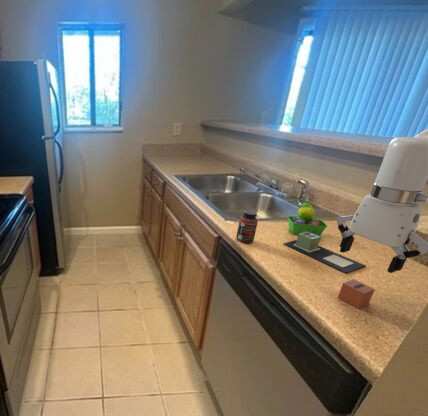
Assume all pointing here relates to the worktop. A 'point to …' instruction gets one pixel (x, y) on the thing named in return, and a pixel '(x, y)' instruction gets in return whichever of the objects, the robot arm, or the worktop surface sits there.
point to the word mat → (328, 258)
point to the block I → (356, 293)
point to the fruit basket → (306, 221)
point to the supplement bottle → (247, 227)
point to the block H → (308, 240)
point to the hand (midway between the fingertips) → (366, 260)
